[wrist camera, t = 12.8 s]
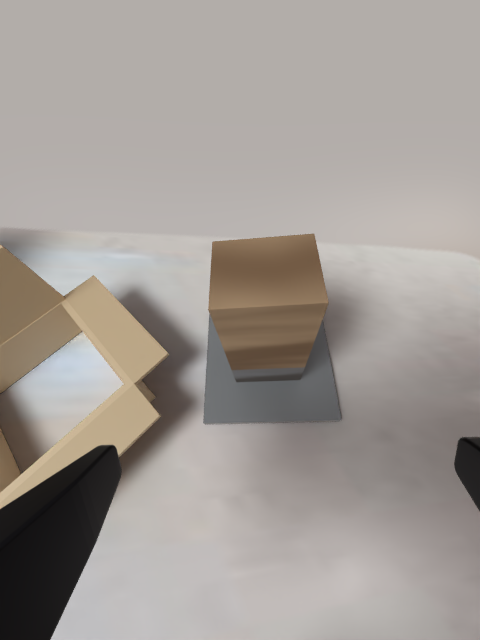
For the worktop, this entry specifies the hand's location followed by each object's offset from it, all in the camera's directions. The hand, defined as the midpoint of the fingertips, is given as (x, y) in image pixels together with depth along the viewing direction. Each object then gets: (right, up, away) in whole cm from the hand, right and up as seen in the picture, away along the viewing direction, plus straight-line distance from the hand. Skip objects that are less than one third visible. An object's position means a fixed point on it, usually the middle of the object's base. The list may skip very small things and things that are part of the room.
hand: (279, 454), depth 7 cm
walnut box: (+1, 0, +14) cm, 15 cm away
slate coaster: (+1, 0, +15) cm, 15 cm away
